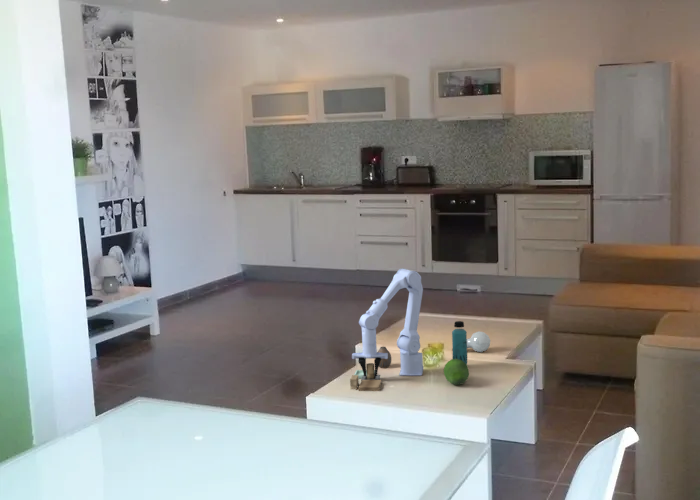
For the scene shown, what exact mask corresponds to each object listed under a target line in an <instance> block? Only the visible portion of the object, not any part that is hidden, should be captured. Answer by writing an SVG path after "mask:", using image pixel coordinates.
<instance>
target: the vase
mask: <svg viewBox="0 0 700 500" xmlns="http://www.w3.org/2000/svg"><path fill="white" fill-rule="evenodd" d="M377 352H378V353H388V358H387V359H385V358H382V359H381V361H380V364H379V367H378V368H381V369H386V368H389V367H390V365H391V364H392V354H391V352H390V351H389V350H388V349H387V347H386V346H380V347H379V349H378V351H377Z"/></svg>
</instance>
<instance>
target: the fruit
mask: <svg viewBox="0 0 700 500" xmlns="http://www.w3.org/2000/svg"><path fill="white" fill-rule="evenodd" d="M443 373H444V377H445V379H446V381H447V382H448V383H450V384H451V385H462V384H465V383H466V381H467V380H468V379H469V376H470V370H469V366H468V365H466V364H465V362H464V361H462V360H460V359H453V358H452V359H450V360H448V361H447V362H446V363H445V364H444V369H443Z"/></svg>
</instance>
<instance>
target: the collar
mask: <svg viewBox="0 0 700 500" xmlns="http://www.w3.org/2000/svg"><path fill="white" fill-rule="evenodd" d="M362 380H381V374H377V376H375V379H367V375H366V376H364V375H363V377H362V379H360V382H361V381H362Z"/></svg>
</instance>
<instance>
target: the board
mask: <svg viewBox="0 0 700 500" xmlns="http://www.w3.org/2000/svg"><path fill="white" fill-rule="evenodd" d="M382 384H383V383H382V379H380V380H362V381H361V380H360V382H359V385H358V391H359V392H379V391H380V390H381V387H382Z"/></svg>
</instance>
